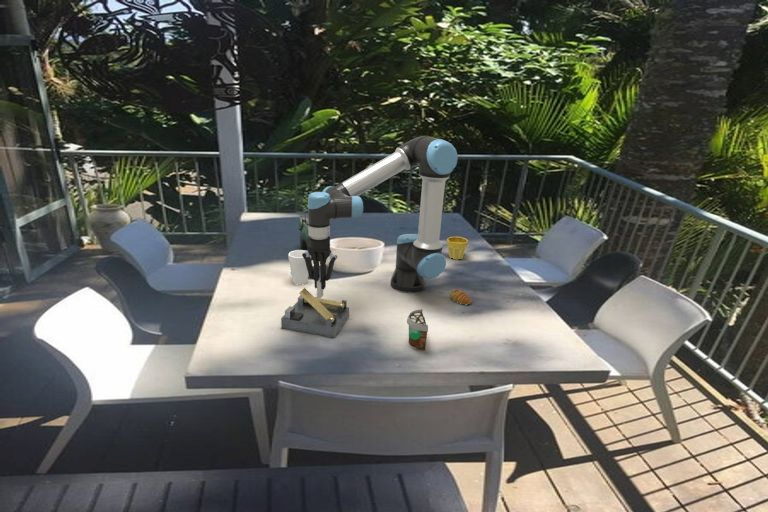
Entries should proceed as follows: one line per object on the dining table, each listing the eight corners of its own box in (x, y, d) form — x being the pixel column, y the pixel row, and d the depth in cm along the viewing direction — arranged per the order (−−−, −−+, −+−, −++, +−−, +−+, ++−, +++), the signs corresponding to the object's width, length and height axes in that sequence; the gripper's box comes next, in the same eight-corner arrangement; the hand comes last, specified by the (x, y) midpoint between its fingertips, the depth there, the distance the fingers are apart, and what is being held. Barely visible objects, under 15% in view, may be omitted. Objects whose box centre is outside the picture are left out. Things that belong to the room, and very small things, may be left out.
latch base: (349, 316, 183) (349, 300, 180) (334, 338, 168) (334, 320, 165) (300, 308, 187) (299, 292, 185) (281, 328, 172) (280, 311, 169)
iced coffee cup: (403, 333, 173) (405, 308, 169) (420, 333, 173) (422, 308, 170) (407, 352, 161) (409, 326, 158) (425, 352, 162) (428, 326, 158)
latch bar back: (345, 306, 180) (345, 302, 179) (342, 310, 177) (343, 306, 177) (307, 299, 183) (307, 295, 183) (303, 302, 180) (304, 298, 180)
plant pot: (443, 259, 244) (444, 240, 240) (448, 252, 253) (450, 235, 249) (463, 263, 240) (465, 244, 237) (467, 256, 249) (470, 238, 246)
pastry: (475, 303, 198) (476, 295, 197) (463, 307, 195) (464, 299, 193) (459, 295, 205) (460, 287, 204) (447, 299, 202) (448, 290, 200)
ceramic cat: (297, 247, 249) (296, 210, 242) (309, 246, 252) (309, 209, 244) (307, 261, 232) (307, 221, 225) (320, 260, 235) (320, 220, 228)
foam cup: (306, 287, 205) (306, 259, 200) (285, 284, 206) (285, 256, 202) (313, 279, 213) (313, 251, 209) (294, 276, 215) (293, 249, 210)
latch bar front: (333, 320, 170) (336, 317, 170) (330, 324, 168) (333, 321, 167) (302, 290, 169) (304, 287, 169) (298, 293, 167) (301, 290, 166)
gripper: (340, 235, 173) (340, 294, 182) (306, 231, 176) (307, 289, 185) (333, 241, 166) (333, 303, 175) (297, 237, 169) (299, 298, 178)
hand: (320, 296), depth 180 cm, fingers closed
